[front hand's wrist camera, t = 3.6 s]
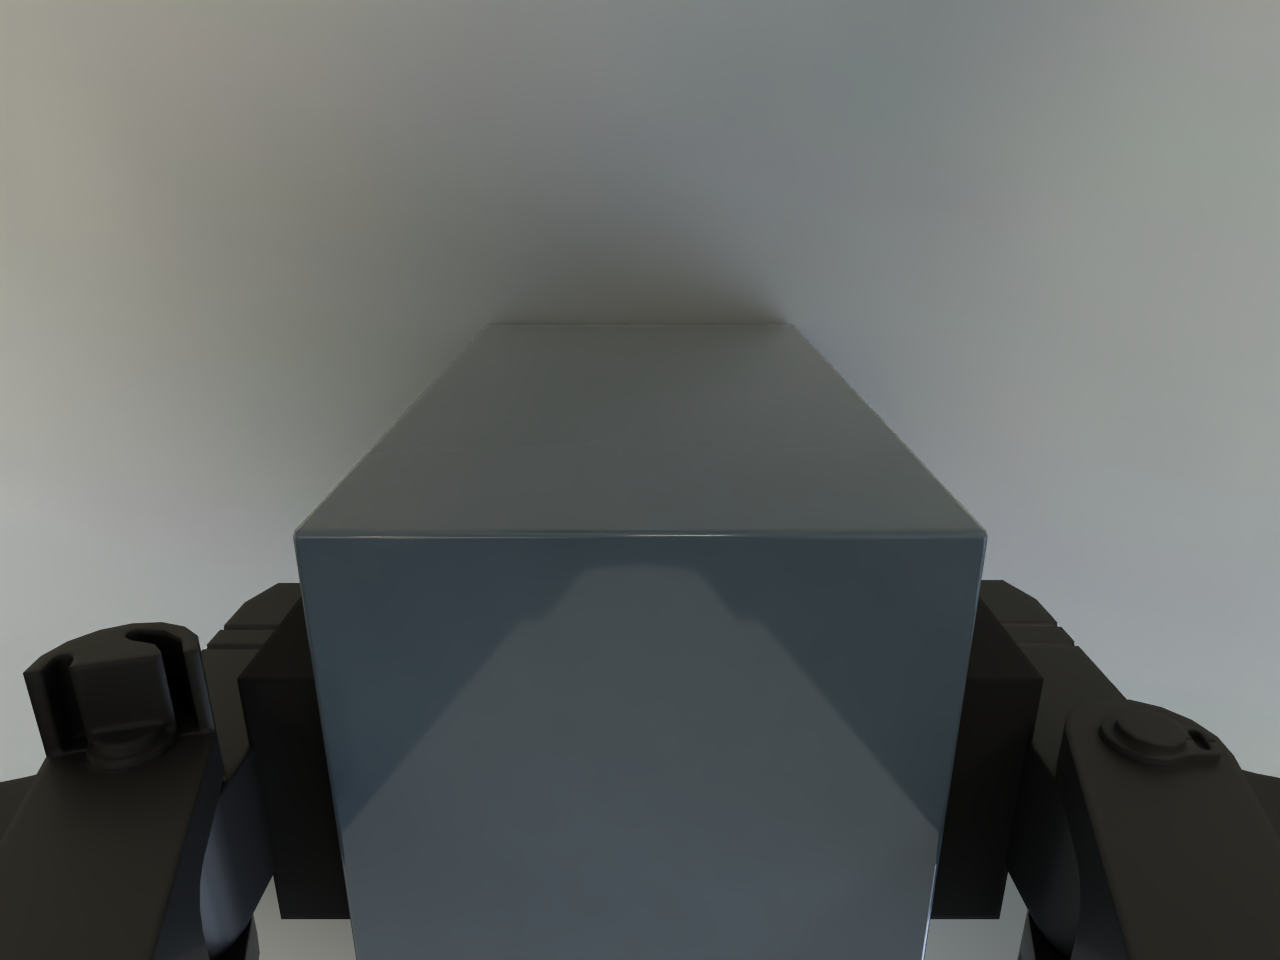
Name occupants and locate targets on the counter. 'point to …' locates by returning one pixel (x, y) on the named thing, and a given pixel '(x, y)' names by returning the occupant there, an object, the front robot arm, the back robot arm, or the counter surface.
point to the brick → (640, 656)
